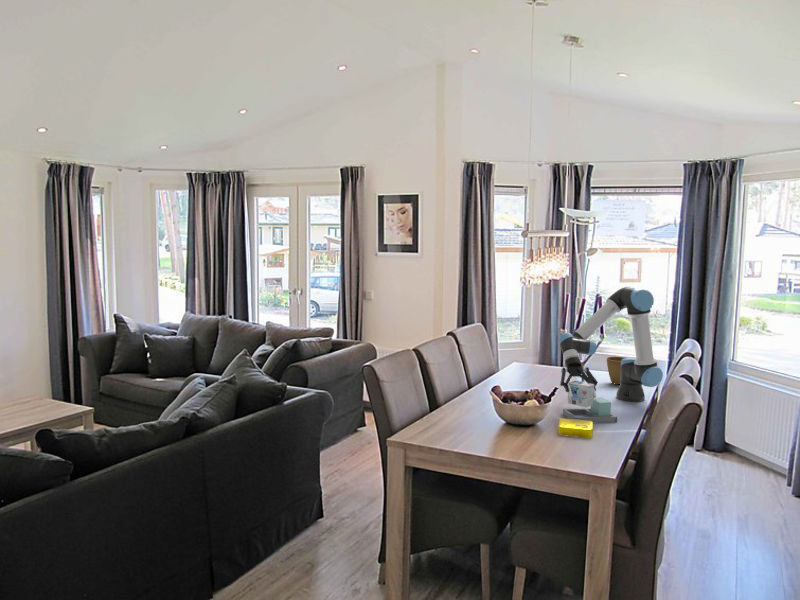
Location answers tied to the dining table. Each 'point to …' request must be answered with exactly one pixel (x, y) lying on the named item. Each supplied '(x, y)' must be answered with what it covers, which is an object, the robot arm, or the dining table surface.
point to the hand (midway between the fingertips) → (583, 397)
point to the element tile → (575, 427)
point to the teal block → (601, 407)
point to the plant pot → (614, 368)
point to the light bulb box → (581, 394)
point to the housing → (587, 415)
